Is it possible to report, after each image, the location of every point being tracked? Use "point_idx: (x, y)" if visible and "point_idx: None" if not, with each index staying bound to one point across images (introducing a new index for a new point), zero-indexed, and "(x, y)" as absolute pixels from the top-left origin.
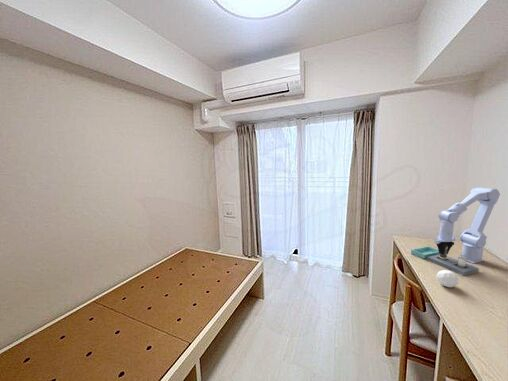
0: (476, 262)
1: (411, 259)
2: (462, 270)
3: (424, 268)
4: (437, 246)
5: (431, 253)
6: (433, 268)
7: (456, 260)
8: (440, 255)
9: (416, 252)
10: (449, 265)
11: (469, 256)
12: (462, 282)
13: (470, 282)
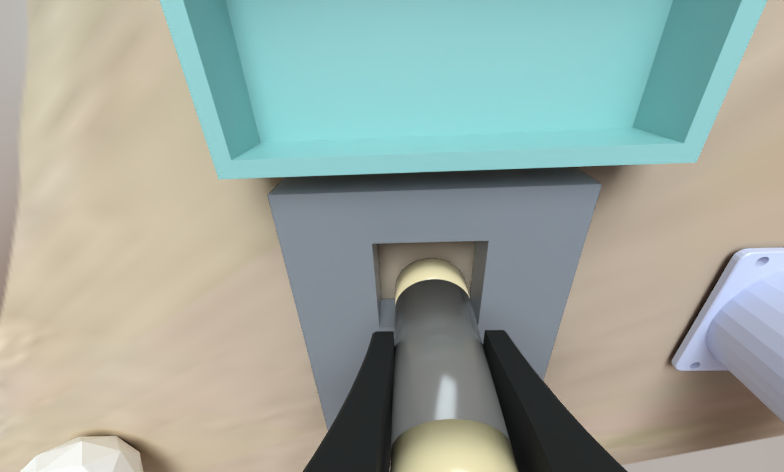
0: (716, 367)
1: (59, 95)
2: None
3: (101, 297)
4: (311, 458)
5: (399, 172)
6: (195, 318)
7: (527, 352)
8: (397, 311)
9: (174, 2)
10: (328, 386)
11: (755, 382)
12: (246, 450)
13: (296, 459)
